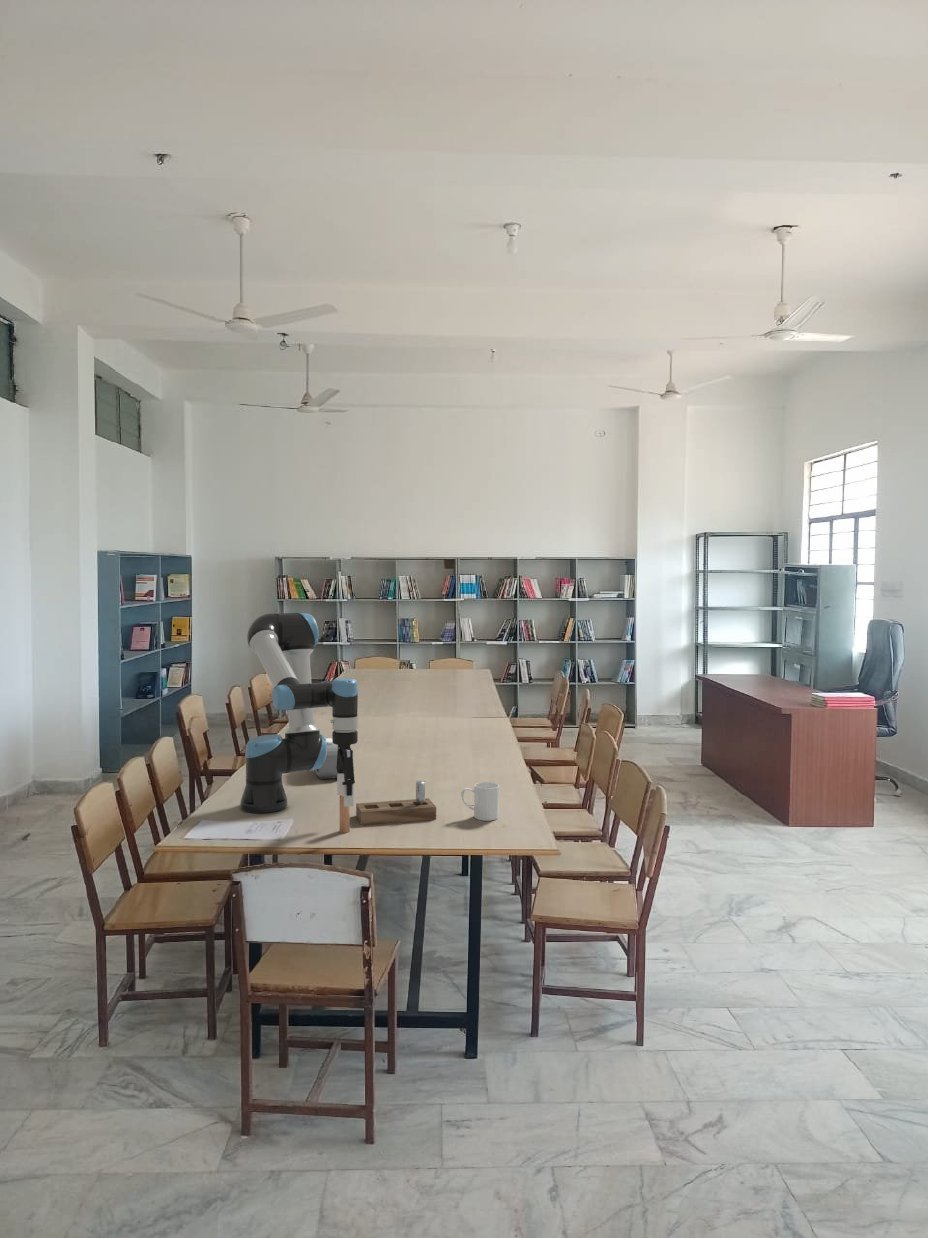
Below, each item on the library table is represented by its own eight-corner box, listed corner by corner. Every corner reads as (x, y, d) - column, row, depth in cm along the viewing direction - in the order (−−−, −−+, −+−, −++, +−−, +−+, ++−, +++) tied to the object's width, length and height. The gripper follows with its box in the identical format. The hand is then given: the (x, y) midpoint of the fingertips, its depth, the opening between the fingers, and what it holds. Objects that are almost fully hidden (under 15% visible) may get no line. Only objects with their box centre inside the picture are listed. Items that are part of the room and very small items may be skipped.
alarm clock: (311, 769, 325) (311, 735, 324) (335, 767, 328) (335, 734, 327) (319, 782, 306) (319, 746, 305) (344, 780, 309) (344, 745, 308)
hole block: (356, 815, 265) (356, 803, 265) (428, 810, 272) (428, 798, 272) (361, 825, 255) (361, 812, 255) (436, 819, 262) (436, 806, 262)
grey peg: (414, 814, 267) (414, 781, 266) (423, 813, 268) (423, 780, 267) (416, 817, 264) (417, 783, 263) (425, 816, 265) (426, 782, 264)
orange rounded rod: (338, 830, 250) (339, 794, 249) (348, 829, 251) (348, 794, 250) (340, 833, 247) (340, 797, 246) (350, 832, 248) (350, 796, 247)
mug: (494, 813, 270) (495, 781, 269) (501, 820, 262) (501, 788, 261) (458, 815, 267) (459, 783, 266) (464, 822, 259) (464, 789, 259)
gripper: (327, 723, 258) (327, 790, 259) (338, 738, 234) (338, 812, 235) (351, 722, 260) (351, 789, 261) (364, 737, 236) (364, 810, 237)
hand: (345, 800), depth 248 cm, fingers open, 13 cm apart
